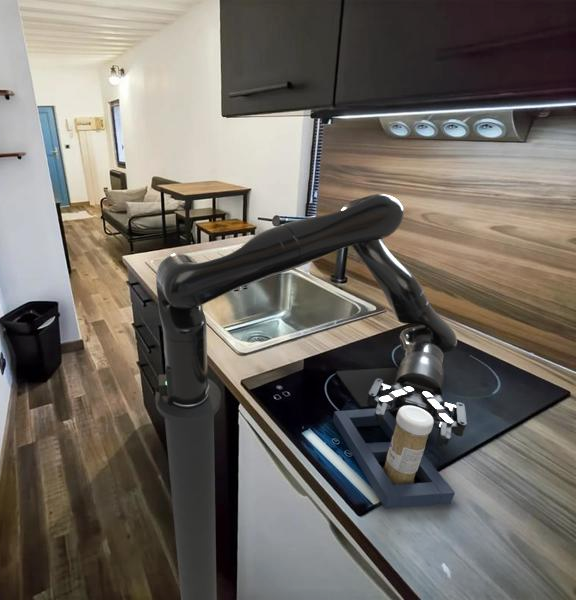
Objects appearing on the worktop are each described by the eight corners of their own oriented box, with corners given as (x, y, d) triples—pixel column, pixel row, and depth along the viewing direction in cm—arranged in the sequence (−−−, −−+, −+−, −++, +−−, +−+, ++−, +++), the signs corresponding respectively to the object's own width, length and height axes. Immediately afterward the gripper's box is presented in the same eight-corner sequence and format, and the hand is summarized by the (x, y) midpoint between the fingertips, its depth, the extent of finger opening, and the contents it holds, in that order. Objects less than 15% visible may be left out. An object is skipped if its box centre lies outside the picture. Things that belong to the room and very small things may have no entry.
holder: (384, 508, 55) (387, 497, 54) (332, 420, 72) (334, 411, 71) (450, 503, 55) (455, 492, 54) (383, 417, 72) (386, 407, 71)
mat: (361, 408, 74) (361, 406, 74) (335, 373, 85) (335, 371, 85) (428, 403, 75) (429, 401, 74) (394, 369, 85) (395, 367, 85)
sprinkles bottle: (379, 463, 62) (395, 402, 57) (409, 468, 61) (429, 406, 55) (385, 486, 58) (402, 422, 53) (417, 492, 57) (439, 428, 51)
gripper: (382, 351, 73) (365, 397, 61) (471, 374, 65) (471, 431, 53) (375, 381, 76) (358, 430, 64) (459, 407, 68) (457, 468, 57)
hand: (409, 431), depth 59 cm, fingers open, 8 cm apart
